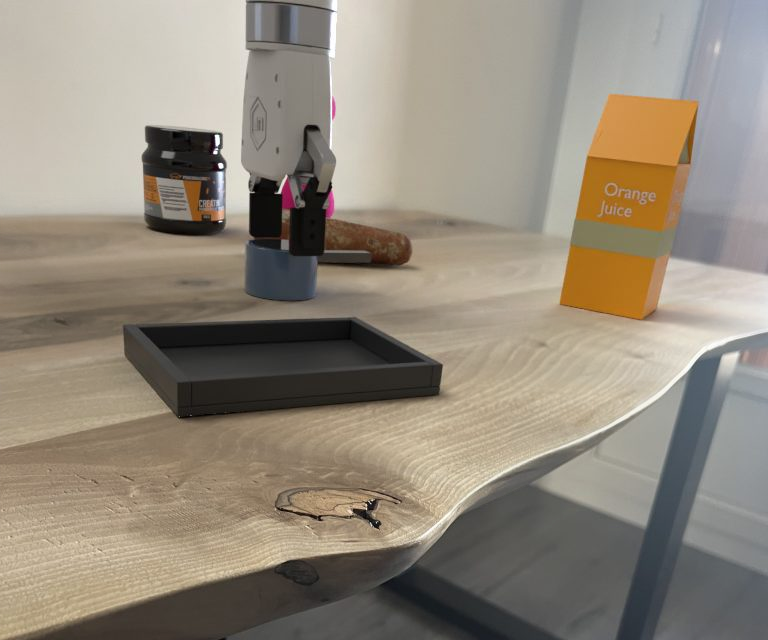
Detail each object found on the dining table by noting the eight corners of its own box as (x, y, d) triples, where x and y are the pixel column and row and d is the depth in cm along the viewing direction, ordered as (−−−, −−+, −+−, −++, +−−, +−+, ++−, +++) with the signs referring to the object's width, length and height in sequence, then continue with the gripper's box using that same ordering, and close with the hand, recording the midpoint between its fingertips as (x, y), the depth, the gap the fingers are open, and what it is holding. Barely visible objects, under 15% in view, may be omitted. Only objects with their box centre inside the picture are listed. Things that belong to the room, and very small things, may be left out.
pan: (259, 301, 74) (261, 250, 72) (234, 285, 79) (234, 237, 77) (381, 298, 80) (385, 251, 78) (349, 283, 85) (353, 239, 83)
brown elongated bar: (249, 250, 97) (250, 200, 94) (407, 263, 100) (412, 215, 97) (247, 259, 91) (248, 207, 89) (414, 273, 94) (420, 222, 92)
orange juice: (579, 294, 92) (617, 96, 83) (657, 308, 88) (707, 103, 80) (558, 304, 86) (597, 90, 77) (642, 320, 82) (693, 99, 73)
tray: (177, 418, 46) (177, 382, 45) (124, 355, 56) (122, 324, 55) (439, 394, 54) (443, 364, 53) (353, 343, 64) (355, 316, 63)
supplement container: (168, 236, 100) (165, 129, 95) (129, 223, 107) (125, 122, 102) (241, 235, 107) (243, 135, 102) (201, 222, 114) (200, 127, 108)
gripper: (214, 31, 73) (215, 230, 81) (290, 26, 60) (283, 264, 68) (291, 41, 77) (285, 231, 84) (379, 38, 64) (363, 263, 71)
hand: (284, 245), depth 76 cm, fingers open, 9 cm apart
